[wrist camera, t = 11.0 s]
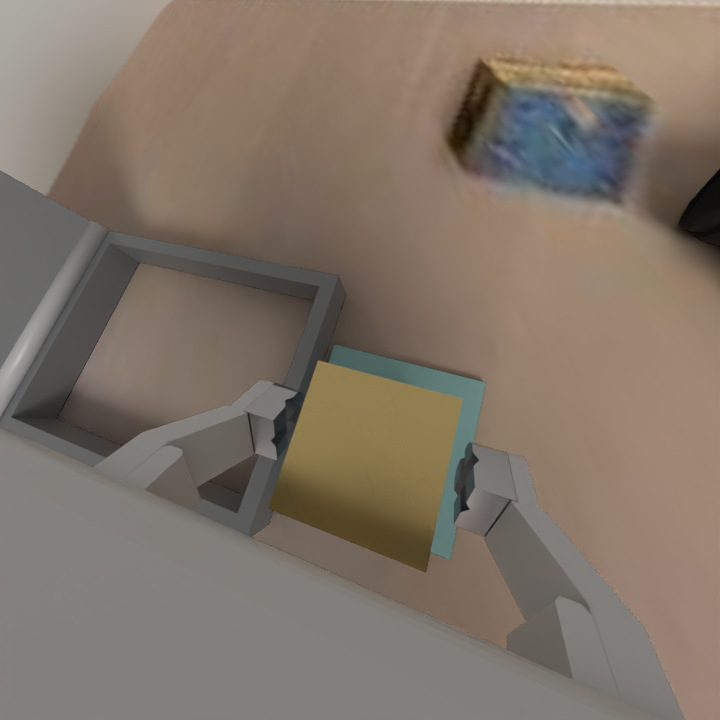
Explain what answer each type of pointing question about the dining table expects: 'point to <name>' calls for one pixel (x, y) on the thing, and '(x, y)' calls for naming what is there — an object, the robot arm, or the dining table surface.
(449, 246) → the dining table surface
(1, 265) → the case
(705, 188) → the film camera
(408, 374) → the pad
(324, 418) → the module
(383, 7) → the dining table surface
